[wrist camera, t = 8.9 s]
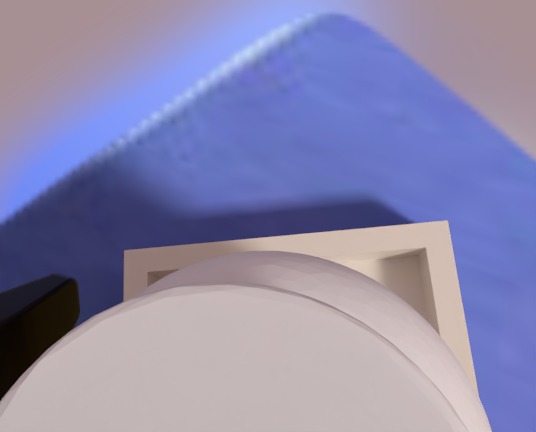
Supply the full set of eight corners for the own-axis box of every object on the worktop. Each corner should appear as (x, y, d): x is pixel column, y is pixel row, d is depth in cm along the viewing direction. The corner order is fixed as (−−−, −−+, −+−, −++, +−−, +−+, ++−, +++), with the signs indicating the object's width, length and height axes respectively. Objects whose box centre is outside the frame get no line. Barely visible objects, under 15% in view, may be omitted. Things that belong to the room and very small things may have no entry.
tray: (143, 593, 16) (118, 626, 14) (144, 261, 19) (124, 250, 17) (492, 582, 15) (517, 616, 13) (434, 235, 18) (447, 220, 16)
